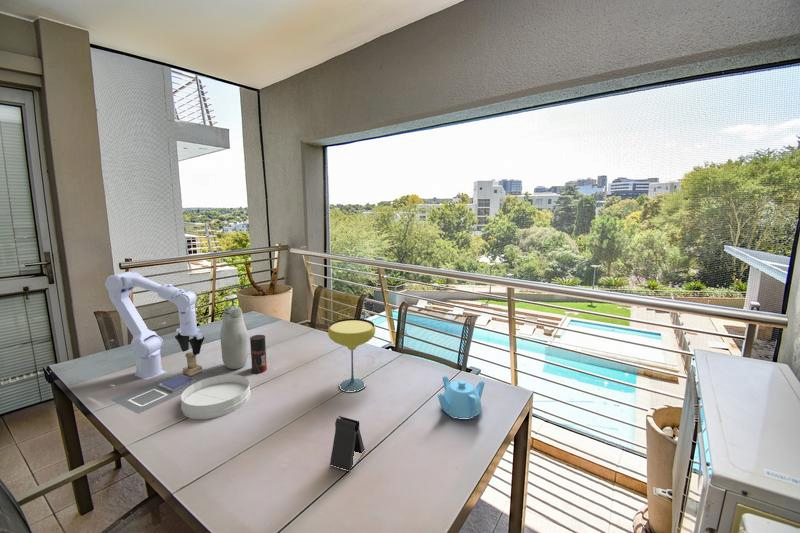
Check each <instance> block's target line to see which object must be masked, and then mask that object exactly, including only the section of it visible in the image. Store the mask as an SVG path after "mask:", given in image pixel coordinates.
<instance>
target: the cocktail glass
mask: <svg viewBox="0 0 800 533" xmlns="http://www.w3.org/2000/svg"><path fill="white" fill-rule="evenodd" d="M375 334H376V325H375V323H374V322H373V321H371V320H368V319H366V318H365V319H363V318H342V319H338V320H335V321H333V322H331V323H330V324H329V325H328V327H327V335H328V337H329V339H330V340H331V341H332V342H334V343H336V344H338V345H341V346H344V347H346V348H347V349H348V350H349V351H350V352H351V353H350V354H351V370H350V371H351V376H350V378H347V379H348V380H347V379H344V380H345V381H344V380H342V381H343V382H342V381H341V382H342V383H341V382H340V383H341V384H340V383H339V384H340V386H341V389H343V390H345V391H348V390H349V391H354V390H356V391H357V390H359V389H361V388H363V387H364V382H363V381H364V380H363V379H361V380H360V378H356V379H354V351H355V350H356V349H357V348H358V347H359V346H361V345H363V344H366V343H368V342H369V341H371V340H372V339H373V338H374V336H376V335H375ZM362 380H363V381H362Z"/></svg>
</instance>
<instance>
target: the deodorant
mask: <svg viewBox="0 0 800 533" xmlns="http://www.w3.org/2000/svg"><path fill="white" fill-rule="evenodd" d="M249 341H250V342H249V344H250V356H251V357H250V358H251V373H253V374H262V373H264V372H266V371H268V367H267V366H268V365H267V363H268V362H267V349H266V348H267V346H266V335H264V334H255V335H252V336H250V337H249Z"/></svg>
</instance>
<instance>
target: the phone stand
mask: <svg viewBox="0 0 800 533" xmlns="http://www.w3.org/2000/svg"><path fill="white" fill-rule="evenodd" d="M334 425H335V427H334V428H335V431H334V436H333V444H332V449H331V457H330V461H329V462H330V463H329V466H330V465H333V466H336V467H339V468H343V469H346V470H350V469H351V467H352V465H353V456H354V451H355V452H359V453H362V452H363V451H364V450H365V451H366V449H365V446H364V441H363V438H362V434H361V431H360V421H359V420H355V419H352V418H348V417H345V416H341V415H339V416H338V417H337V418H336V420H335V423H334ZM365 451H364V452H365ZM351 470H352V469H351Z"/></svg>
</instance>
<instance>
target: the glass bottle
mask: <svg viewBox="0 0 800 533" xmlns="http://www.w3.org/2000/svg"><path fill="white" fill-rule="evenodd" d="M221 323H222V324H221V327H220V333H219V334H220V335H219V336H220V350H221V358H222V362H223V364H224V366H225V367H226V368H227V369H230V370H238V369H241V368H243V367H244V366H245V365H246V364H247V362H248V358H249V346H248V345H249V344H248V341H249V340H248V331H247V330H248V329H247V327H246V326H247V325H246V323H245V320H244V317H243V310H242V308H241V307H240V306H238V305H229V306H225V308H224V309H223V312H222V321H221Z"/></svg>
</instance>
